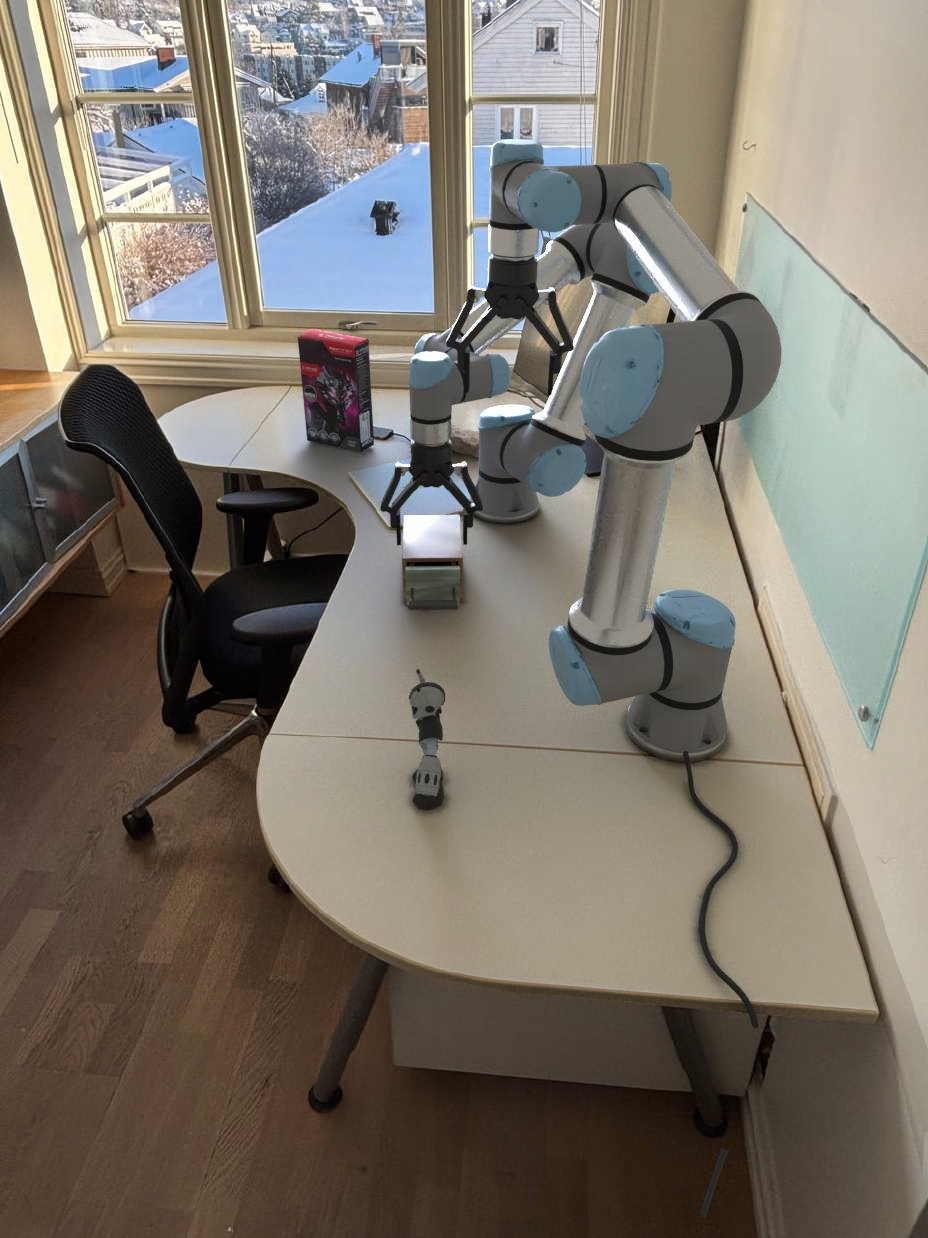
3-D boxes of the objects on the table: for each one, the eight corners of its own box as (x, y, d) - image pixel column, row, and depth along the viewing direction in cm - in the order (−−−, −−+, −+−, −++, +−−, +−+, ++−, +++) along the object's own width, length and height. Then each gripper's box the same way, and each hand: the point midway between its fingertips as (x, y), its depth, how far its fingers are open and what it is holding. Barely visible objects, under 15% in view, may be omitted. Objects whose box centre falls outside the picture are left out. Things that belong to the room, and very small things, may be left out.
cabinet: (462, 602, 173) (462, 557, 168) (403, 602, 173) (402, 558, 167) (459, 557, 187) (459, 514, 182) (405, 557, 187) (403, 515, 181)
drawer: (460, 624, 165) (461, 587, 161) (405, 625, 165) (404, 588, 161) (457, 562, 184) (457, 527, 179) (407, 562, 183) (406, 528, 179)
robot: (448, 840, 124) (447, 726, 113) (411, 841, 124) (407, 727, 112) (443, 742, 140) (442, 634, 129) (411, 743, 140) (408, 635, 129)
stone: (396, 441, 228) (401, 417, 225) (415, 432, 241) (420, 409, 239) (476, 465, 224) (482, 442, 222) (491, 455, 237) (496, 432, 235)
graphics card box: (304, 441, 235) (294, 334, 220) (320, 432, 240) (311, 327, 225) (361, 455, 228) (354, 345, 213) (376, 445, 233) (371, 337, 218)
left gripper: (496, 430, 173) (492, 532, 185) (365, 431, 172) (370, 532, 184) (498, 446, 167) (495, 550, 179) (363, 447, 166) (368, 551, 178)
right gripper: (595, 251, 142) (583, 385, 154) (433, 247, 143) (435, 380, 155) (597, 263, 135) (585, 401, 147) (428, 258, 137) (430, 396, 149)
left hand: (432, 541), depth 181 cm, fingers open, 12 cm apart
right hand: (508, 391), depth 151 cm, fingers open, 13 cm apart
